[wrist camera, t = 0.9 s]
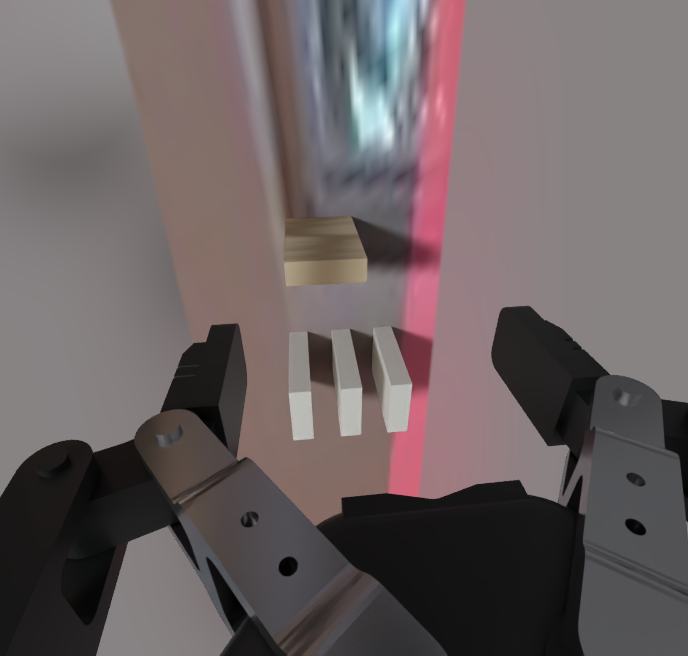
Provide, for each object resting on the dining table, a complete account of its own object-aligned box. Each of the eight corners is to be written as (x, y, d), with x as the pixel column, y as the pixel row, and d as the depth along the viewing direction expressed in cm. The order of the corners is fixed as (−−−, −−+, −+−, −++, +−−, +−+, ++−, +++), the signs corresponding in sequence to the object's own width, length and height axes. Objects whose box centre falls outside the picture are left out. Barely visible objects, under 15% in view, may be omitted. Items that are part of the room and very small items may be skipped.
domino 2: (287, 239, 32) (286, 286, 25) (285, 218, 31) (284, 262, 25) (351, 236, 33) (366, 282, 26) (351, 216, 32) (367, 258, 25)
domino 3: (331, 329, 37) (340, 389, 30) (349, 328, 37) (362, 387, 31) (332, 373, 40) (341, 436, 33) (349, 371, 40) (360, 434, 33)
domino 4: (373, 327, 37) (391, 385, 31) (391, 326, 38) (412, 384, 31) (371, 370, 40) (387, 432, 34) (388, 369, 40) (407, 430, 34)
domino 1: (289, 332, 37) (288, 392, 30) (307, 331, 37) (310, 391, 30) (293, 375, 40) (293, 440, 33) (309, 374, 40) (313, 438, 33)
